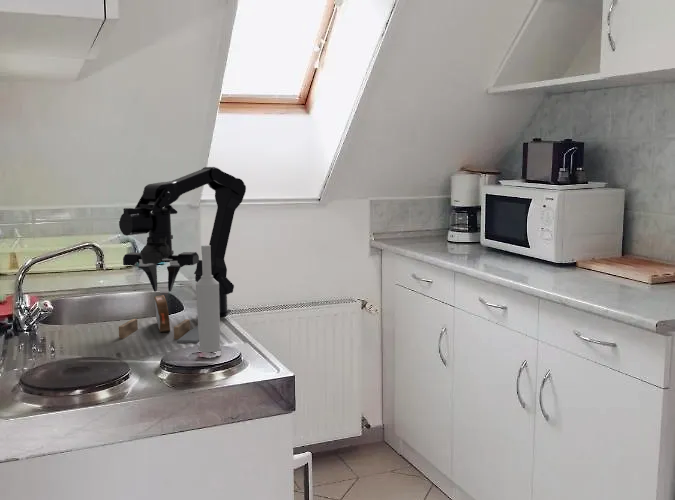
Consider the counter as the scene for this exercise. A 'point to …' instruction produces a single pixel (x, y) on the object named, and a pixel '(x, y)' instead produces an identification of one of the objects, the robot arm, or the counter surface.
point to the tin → (162, 313)
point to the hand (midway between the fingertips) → (162, 291)
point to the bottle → (208, 306)
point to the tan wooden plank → (133, 326)
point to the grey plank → (190, 336)
